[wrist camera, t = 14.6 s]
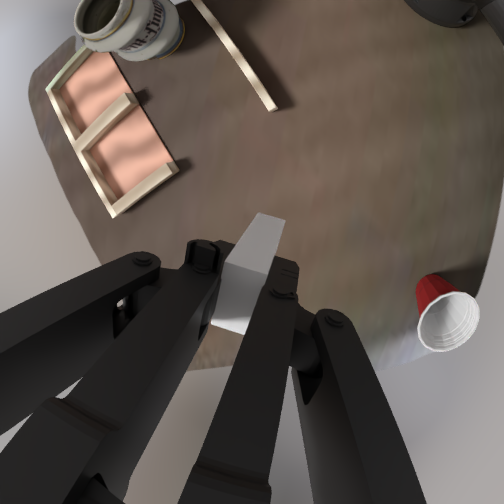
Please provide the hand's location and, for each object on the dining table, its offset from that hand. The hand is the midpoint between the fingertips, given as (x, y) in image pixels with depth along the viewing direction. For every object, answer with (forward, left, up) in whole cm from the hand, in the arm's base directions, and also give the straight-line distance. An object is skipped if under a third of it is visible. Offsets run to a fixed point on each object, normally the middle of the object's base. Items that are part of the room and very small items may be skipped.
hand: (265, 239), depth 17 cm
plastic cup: (-29, +12, -33) cm, 45 cm away
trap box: (+29, -8, -32) cm, 44 cm away
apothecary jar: (+28, -18, -33) cm, 47 cm away
